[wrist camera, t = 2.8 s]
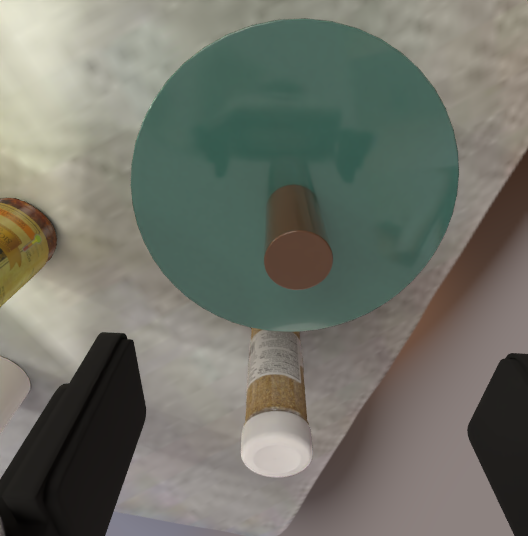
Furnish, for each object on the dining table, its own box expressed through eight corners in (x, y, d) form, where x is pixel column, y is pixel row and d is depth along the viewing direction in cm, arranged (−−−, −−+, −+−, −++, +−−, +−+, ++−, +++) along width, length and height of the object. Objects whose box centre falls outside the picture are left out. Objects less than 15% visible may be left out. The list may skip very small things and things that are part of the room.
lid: (73, 106, 17) (-14, 138, 12) (420, -54, 14) (508, -107, 9) (217, 346, 25) (202, 430, 20) (465, 275, 22) (527, 353, 16)
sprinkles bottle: (286, 345, 37) (293, 487, 25) (242, 330, 36) (229, 470, 24) (308, 311, 34) (327, 449, 23) (262, 294, 34) (257, 428, 22)
